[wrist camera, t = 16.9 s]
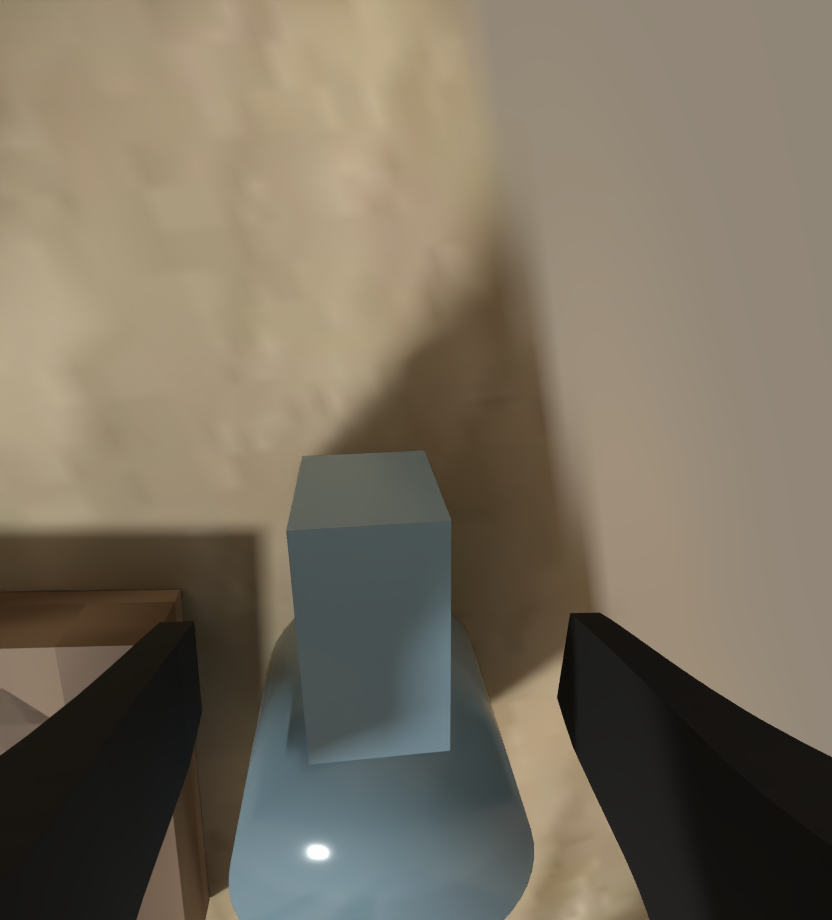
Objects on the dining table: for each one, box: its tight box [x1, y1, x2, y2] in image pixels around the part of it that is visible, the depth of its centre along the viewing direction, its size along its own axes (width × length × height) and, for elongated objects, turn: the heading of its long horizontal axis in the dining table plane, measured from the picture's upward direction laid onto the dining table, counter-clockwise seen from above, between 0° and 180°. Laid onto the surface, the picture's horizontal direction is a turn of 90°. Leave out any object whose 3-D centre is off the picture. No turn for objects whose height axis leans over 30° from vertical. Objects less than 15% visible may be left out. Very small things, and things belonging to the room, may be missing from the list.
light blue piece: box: [229, 450, 534, 920], centre depth 12 cm, size 9×5×5 cm, turn 1°
